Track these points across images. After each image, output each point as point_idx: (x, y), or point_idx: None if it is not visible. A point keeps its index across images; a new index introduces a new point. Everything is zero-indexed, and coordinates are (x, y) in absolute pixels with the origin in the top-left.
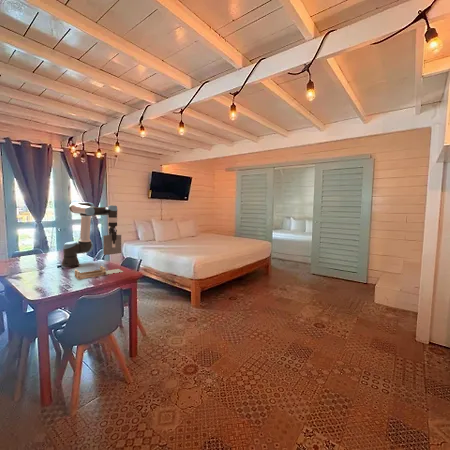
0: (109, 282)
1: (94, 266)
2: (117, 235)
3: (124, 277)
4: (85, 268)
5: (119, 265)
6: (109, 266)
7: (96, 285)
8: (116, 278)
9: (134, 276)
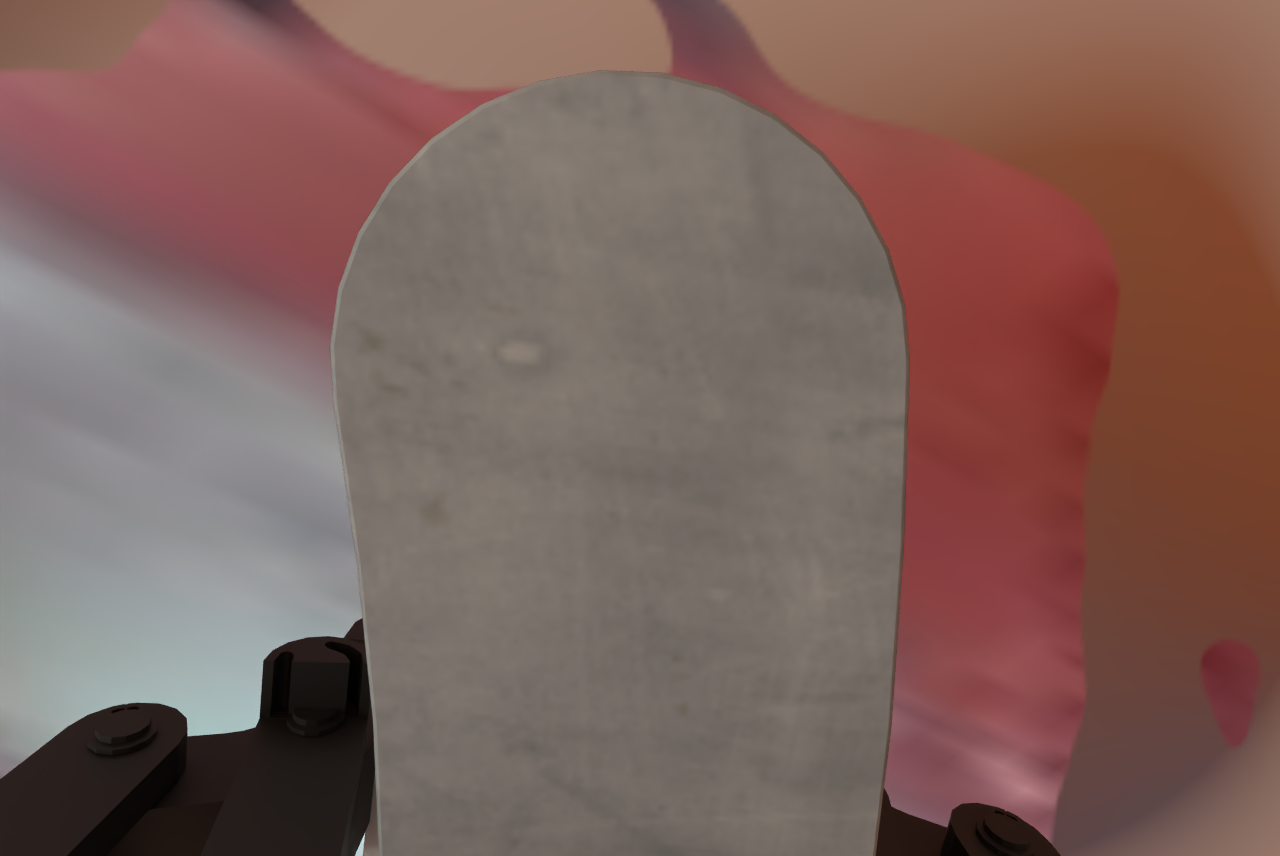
0: (1048, 690)
1: (11, 432)
2: (862, 811)
3: (1020, 440)
4: (68, 595)
5: (234, 48)
6: (187, 239)
7: None
8: (969, 543)
9: (1103, 304)
